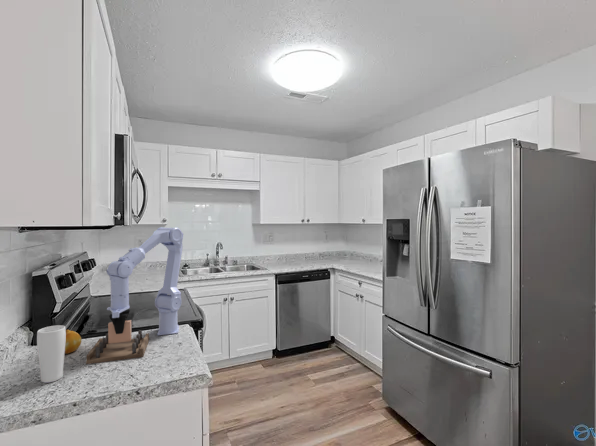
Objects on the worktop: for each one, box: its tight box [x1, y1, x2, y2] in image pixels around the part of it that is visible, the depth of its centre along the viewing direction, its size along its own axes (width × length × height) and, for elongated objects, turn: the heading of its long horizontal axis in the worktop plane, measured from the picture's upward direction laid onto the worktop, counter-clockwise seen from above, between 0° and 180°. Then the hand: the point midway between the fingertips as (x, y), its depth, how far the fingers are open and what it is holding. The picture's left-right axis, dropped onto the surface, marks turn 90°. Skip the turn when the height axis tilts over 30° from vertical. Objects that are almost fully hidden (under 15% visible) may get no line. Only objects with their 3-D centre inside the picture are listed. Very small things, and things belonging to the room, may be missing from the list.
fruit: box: [65, 329, 82, 355], centre depth 114 cm, size 8×8×8 cm
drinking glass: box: [36, 324, 67, 384], centre depth 94 cm, size 7×7×15 cm
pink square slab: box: [107, 319, 133, 344], centre depth 114 cm, size 2×7×7 cm, turn 108°
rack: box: [85, 329, 150, 365], centre depth 114 cm, size 16×17×5 cm
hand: (120, 332), depth 114 cm, fingers closed on pink square slab, 2 cm apart
